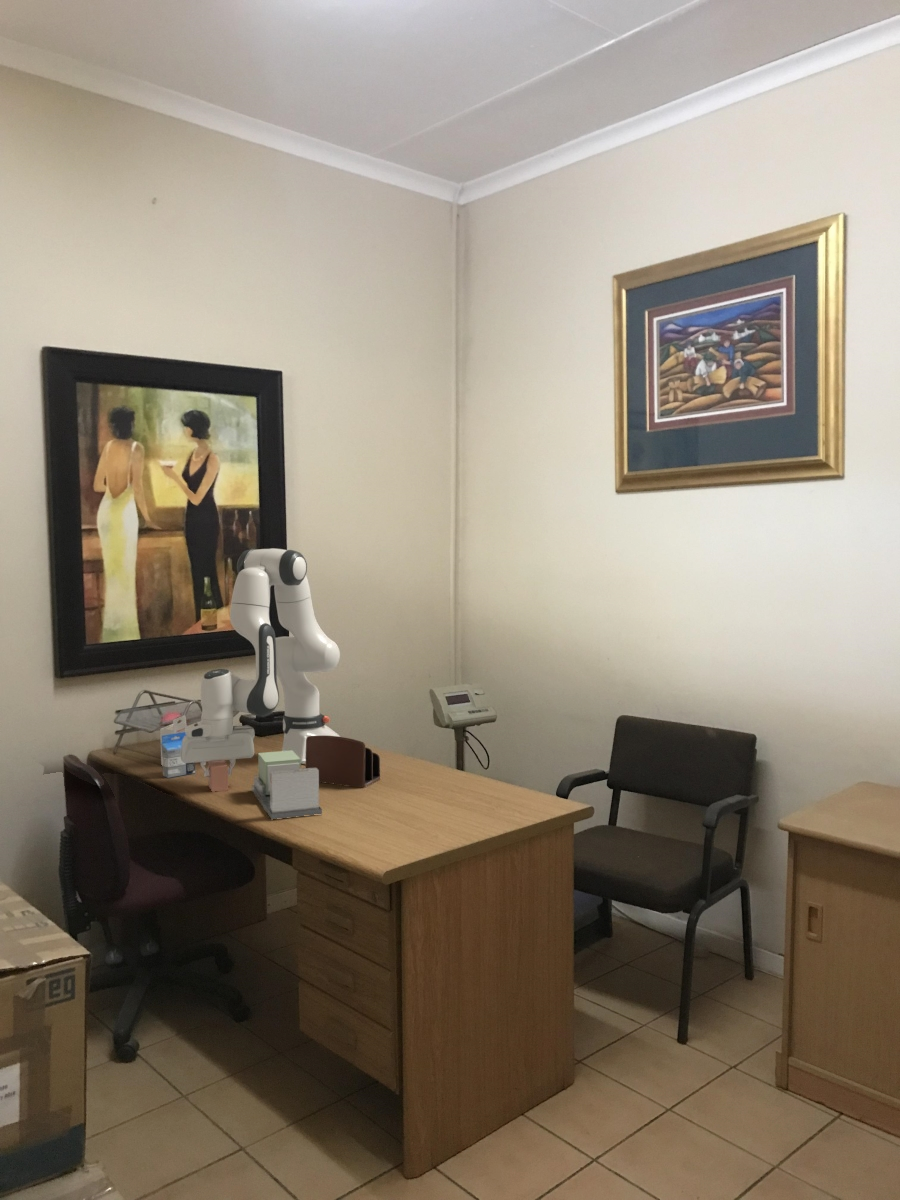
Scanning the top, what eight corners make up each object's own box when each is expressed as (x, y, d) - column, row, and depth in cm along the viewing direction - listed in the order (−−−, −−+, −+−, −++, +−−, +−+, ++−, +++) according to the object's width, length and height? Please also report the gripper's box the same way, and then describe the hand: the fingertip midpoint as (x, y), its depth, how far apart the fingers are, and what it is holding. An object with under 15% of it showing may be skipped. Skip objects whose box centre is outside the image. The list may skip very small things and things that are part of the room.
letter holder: (364, 788, 268) (364, 740, 267) (304, 781, 276) (304, 733, 275) (380, 780, 277) (380, 733, 276) (322, 773, 285) (322, 727, 284)
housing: (224, 784, 272) (224, 760, 271) (228, 790, 265) (227, 766, 265) (208, 785, 270) (208, 761, 270) (211, 792, 264) (211, 767, 263)
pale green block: (258, 784, 265) (258, 753, 264) (292, 781, 268) (292, 750, 268) (266, 795, 254) (265, 762, 253) (301, 792, 258) (301, 759, 257)
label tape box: (167, 778, 278) (167, 737, 277) (161, 775, 281) (161, 735, 280) (195, 773, 283) (195, 733, 282) (189, 770, 286) (188, 731, 286)
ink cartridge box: (173, 759, 301) (172, 713, 300) (188, 760, 300) (187, 714, 299) (160, 765, 292) (159, 719, 291) (174, 766, 291) (174, 719, 290)
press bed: (251, 790, 265) (251, 750, 264) (297, 786, 270) (297, 746, 269) (271, 820, 238) (270, 775, 237) (321, 814, 243) (321, 771, 242)
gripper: (252, 722, 273) (253, 769, 274) (179, 727, 266) (180, 775, 267) (256, 726, 267) (256, 774, 268) (181, 732, 260) (182, 781, 261)
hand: (218, 775), depth 267 cm, fingers closed on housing, 4 cm apart
